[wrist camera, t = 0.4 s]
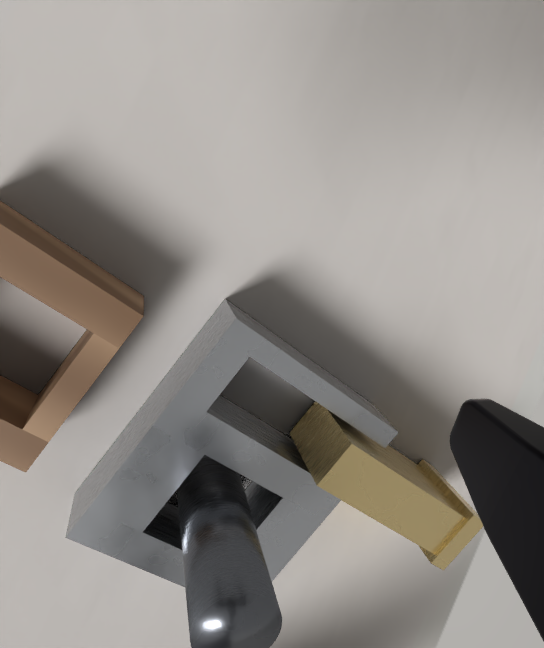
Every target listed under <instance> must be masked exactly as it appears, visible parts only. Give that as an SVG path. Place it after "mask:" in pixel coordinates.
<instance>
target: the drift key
mask: <svg viewBox="0 0 544 648" xmlns="http://www.w3.org/2000/svg"><path fill="white" fill-rule="evenodd" d="M290 435H291V437H292V439H293V441H294V443H295V445H296V447H297V449H298V451H299V453H300V454H301V456H302V458H303V460H304V462H305V464H306V466H307V468H308V470H309V472H310V474H311V476H312V477H313V479H314V481H315V483H316V485H317V486H318V487H320V488H322V489H323V490H325V491H327V492H328V493H330V494H332V495H334V496H335V497H337V498H339V499H340V500H342V501H344V502H346V503H347V504H349V505H351V506H352V507H354V508H356V509H358V510H359V511H361V512H363V513H364V514H366V515H368V516H369V517H371V518H373V519H375V520H376V521H378V522H380V523H381V524H383V525H385V526H387V527H388V528H390V529H392V530H393V531H395V532H397V533H399V534H400V535H402V536H404V537H405V538H407V539H409V540H411V541H412V542H414V543H416V544H417V545H419V547H420V548H421V550H422V551H423V553H424V554H425V555H426V557H427V558H428V560H429V561H430V562H431V563H432V564H433V565H435V566H437V567H439V568H440V569H442V570H444V569H445V568H446V567H447V566H448V565H449V564H450V563H451V562H452V561H453V559H454V558H455V557H456V556H457V555H458V554H459V553H460V552H461V551H462V549H463V548H464V547H465V546H466V545H467V544H468V543H469V542H470V540H471V539H472V538H473V537H474V536H475V535H476V534H477V533H478V532H479V530H480V529H481V528H482V527H483V524H482V522H481V520H480V517H479V515H478V514H477V513H476V512H475V511H474V510H473V509H472V508H471V506H470V505H469V504H468V503H467V502H466V501H465V500H464V499H463V498H462V497H461V496H460V495H459V494H458V493H457V491H456V490H455V489H454V488H453V487H452V486H451V485H450V484H449V483H448V482H447V481H446V480H445V479H444V478H443V476H442V475H441V474H440V473H439V472H438V471H437V470H436V469H435V468H434V467H433V466H432V465H430V464H429V463H427V462H426V461H424V460H423V459H422V460H421V461H420V462H419V464H418V465H417V464H416V463H414V462H413V461H411V460H410V459H408V458H407V457H405V456H404V455H402V454H401V453H399V452H398V451H396V450H395V449H393V448H392V447H391V446H389V445H388V446H387V447H386V448H384V447H383V446H381V445H380V444H378V443H377V442H375V441H374V440H372V439H371V438H369V437H368V436H366V435H365V434H363V433H362V432H360V431H359V430H357V429H356V428H354V427H353V426H351V425H350V424H348V423H347V422H346V421H344V420H343V419H341V418H340V417H338V416H337V415H335V414H334V413H332V412H331V411H329V410H328V409H326V408H325V407H323V406H322V405H320V404H319V403H317V402H316V401H315V402H314V404H313V405H312V406H311V407H310V409H309V410H308V411H307V412H306V413H305V415H304V416H303V417H302V418H301V420H300V421H299V422H298V423H297V424H296V426H295V427H294V428H293V429H292V431H291V432H290Z"/></svg>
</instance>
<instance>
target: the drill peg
mask: <svg viewBox="0 0 544 648" xmlns="http://www.w3.org/2000/svg"><path fill="white" fill-rule="evenodd" d="M177 499H178V510H179V521H180V532H181V543H182V554H183V565H184V577H185V588H186V599H187V610H188V621H189V632H190V642H191V647H192V648H269V647H270V646H271V645H272V644H273V643H274V641H275V640H276V638H277V637H278V635H279V633H280V630H281V626H282V616H281V612H280V609H279V605H278V602H277V599H276V595H275V592H274V588H273V585H272V582H271V578H270V575H269V572H268V568H267V565H266V561H265V558H264V555H263V551H262V548H261V544H260V541H259V538H258V534H257V531H256V528H255V524H254V521H253V517H252V514H251V511H250V507H249V504H248V500H247V497H246V494H245V490H244V487H243V484H242V480H241V477H240V474H239V473H237V472H235V471H234V470H232V469H230V468H228V467H226V466H224V465H223V464H221V463H219V462H217V461H215V460H214V459H212V458H210V457H208V456H206V455H204V456H203V457H202V459H201V460H200V461H199V462H198V464H197V465H196V466H195V467H194V469H193V470H192V471H191V472H190V474H189V475H188V476H187V477H186V479H185V480H184V481H183V482H182V484H181V485H180V486H179V487H178V489H177Z"/></svg>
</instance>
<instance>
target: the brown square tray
mask: <svg viewBox="0 0 544 648" xmlns="http://www.w3.org/2000/svg"><path fill="white" fill-rule="evenodd" d="M0 277H1V278H3V279H5V280H6V281H8V282H10V283H11V284H13V285H15V286H16V287H18V288H20V289H21V290H23V291H24V292H26V293H28V294H29V295H31V296H33V297H34V298H36V299H38V300H39V301H41V302H43V303H44V304H46V305H48V306H49V307H51V308H53V309H54V310H56V311H58V312H59V313H61V314H63V315H64V316H66V317H68V318H69V319H71V320H73V321H74V322H76V323H78V324H79V325H81V326H83V327H84V328H86V329H87V330H86V331H85V333H84V334H83V335H82V337H81V338H80V340H79V341H78V342H77V344H76V345H75V346H74V348H73V349H72V350H71V352H70V353H69V354H68V356H67V357H66V358H65V360H64V361H63V362H62V364H61V365H60V367H59V368H58V369H57V371H56V372H55V373H54V375H53V376H52V377H51V379H50V380H49V381H48V383H47V384H46V385H45V387H44V388H43V389H42V391H41V392H40V394H39V395H37V394H35V393H33V392H31V391H29V390H27V389H26V388H24V387H22V386H20V385H18V384H16V383H14V382H12V381H10V380H8V379H7V378H5V377H3V376H1V375H0V461H2V462H4V463H6V464H8V465H11V466H13V467H15V468H17V469H19V470H22V471H24V472H27V470H28V469H29V468H30V466H31V465H32V464H33V462H34V461H35V460H36V458H37V457H38V456H39V454H40V453H41V452H42V450H43V449H44V448H45V446H46V445H47V444H48V442H49V441H50V440H51V438H52V437H53V436H54V434H55V433H56V432H57V430H58V429H59V428H60V426H61V425H62V424H63V422H64V421H65V420H66V418H67V417H68V416H69V414H70V413H71V412H72V410H73V409H74V408H75V406H76V405H77V404H78V402H79V401H80V400H81V399H82V397H83V396H84V395H85V393H86V392H87V391H88V389H89V388H90V387H91V385H92V384H93V383H94V381H95V380H96V379H97V377H98V376H99V375H100V373H101V372H102V371H103V369H104V368H105V367H106V365H107V364H108V363H109V361H110V360H111V359H112V357H113V356H114V355H115V353H116V352H117V351H118V349H119V348H120V347H121V345H122V344H123V343H124V341H125V340H126V339H127V337H128V336H129V335H130V333H131V332H132V331H133V329H134V328H135V327H136V325H137V324H138V323H139V322H140V320H141V319H142V318H143V315H144V296H143V295H142V294H140V293H139V292H137V291H135V290H134V289H132V288H131V287H129V286H128V285H126V284H125V283H123V282H122V281H120V280H119V279H117V278H116V277H114V276H113V275H111V274H110V273H108V272H107V271H105V270H104V269H102V268H101V267H99V266H98V265H96V264H95V263H93V262H92V261H90V260H89V259H87V258H86V257H84V256H83V255H81V254H80V253H78V252H77V251H75V250H74V249H72V248H71V247H69V246H68V245H66V244H65V243H63V242H62V241H60V240H59V239H57V238H56V237H54V236H53V235H51V234H50V233H48V232H47V231H45V230H44V229H42V228H41V227H39V226H38V225H36V224H35V223H33V222H32V221H30V220H29V219H27V218H26V217H24V216H23V215H21V214H20V213H18V212H17V211H15V210H14V209H12V208H11V207H9V206H8V205H6V204H5V203H3V202H2V201H0Z"/></svg>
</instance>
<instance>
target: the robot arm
mask: <svg viewBox="0 0 544 648" xmlns="http://www.w3.org/2000/svg"><path fill="white" fill-rule="evenodd" d="M450 446H451V450H452V452H453V455H454V457H455V460H456V462H457V464H458V467H459V469H460V472H461V474H462V476H463V479H464V481H465V484H466V486H467V489H468V491H469V493H470V496H471V498H472V501H473V503H474V505H475V508H476V510H477V513H478V515H479V517H480V520H481V522H482V524H483V526H484V529H485V531H486V533H487V535H488V537H489V539H490V541H491V543H492V544H493V546H494V548H495V550H496V552H497V554H498V556H499V558H500V560H501V562H502V563H503V565H504V567H505V569H506V571H507V573H508V575H509V577H510V579H511V580H512V582H513V584H514V586H515V588H516V590H517V592H518V593H519V595H520V598H521V599H522V601H523V603H524V605H525V607H526V609H527V611H528V613H529V615H530V616H531V618H532V620H533V622H534V624H535V626H536V628H537V630H538V631H539V633H540V635H541V637H542V639H543V641H544V427H542V426H540V425H538V424H536V423H534V422H532V421H531V420H529V419H527V418H525V417H523V416H521V415H519V414H517V413H515V412H513V411H512V410H510V409H508V408H506V407H504V406H502V405H500V404H498V403H496V402H494V401H492V400H490V399H470V400H467V401H465V402H464V403H463V404H462V406H461V409H460V411H459V414H458V416H457V419H456V421H455V424H454V426H453V429H452V431H451V434H450Z"/></svg>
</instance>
